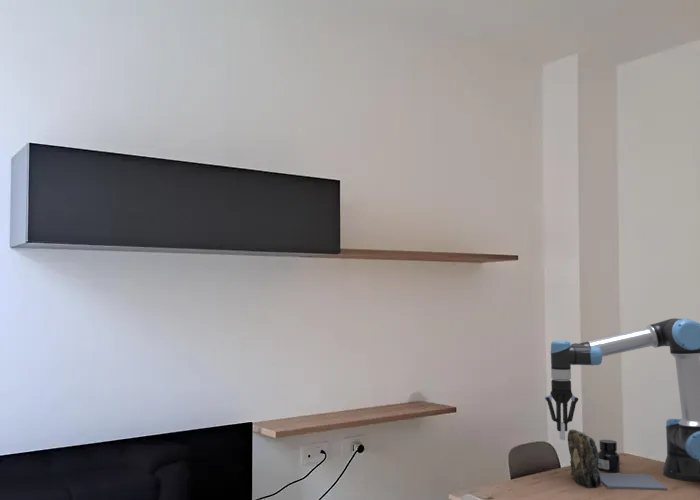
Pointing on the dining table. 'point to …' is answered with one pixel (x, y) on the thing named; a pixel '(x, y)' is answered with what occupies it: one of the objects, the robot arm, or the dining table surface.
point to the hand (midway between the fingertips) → (562, 439)
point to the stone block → (583, 459)
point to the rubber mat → (630, 481)
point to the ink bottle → (608, 456)
